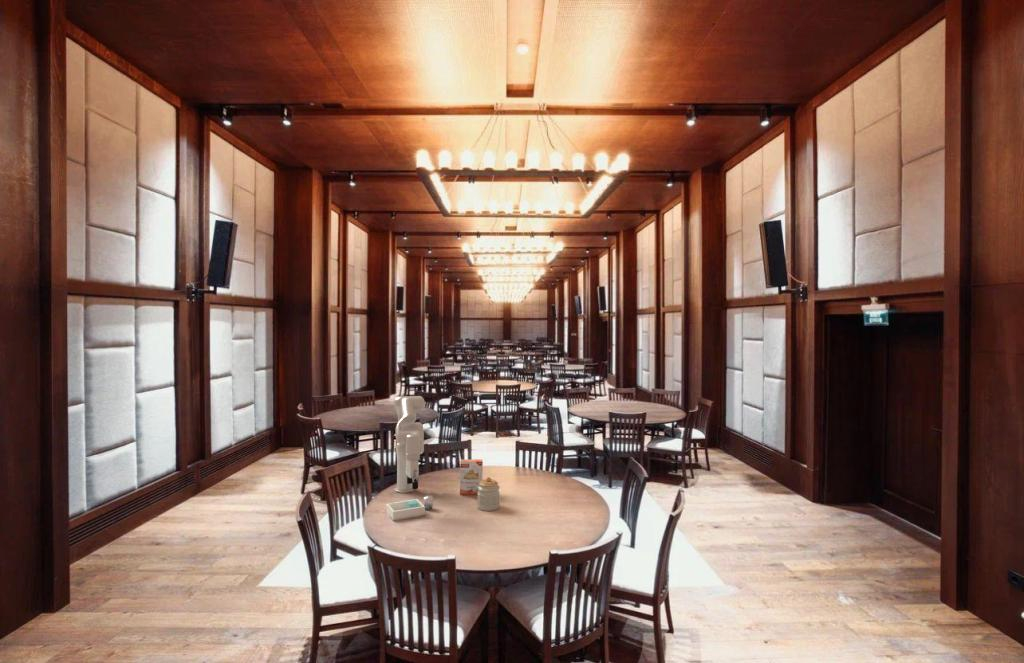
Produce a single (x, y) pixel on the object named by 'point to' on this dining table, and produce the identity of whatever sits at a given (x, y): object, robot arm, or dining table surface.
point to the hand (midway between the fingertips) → (412, 486)
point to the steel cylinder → (428, 502)
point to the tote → (404, 510)
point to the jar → (488, 495)
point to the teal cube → (412, 504)
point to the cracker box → (470, 476)
